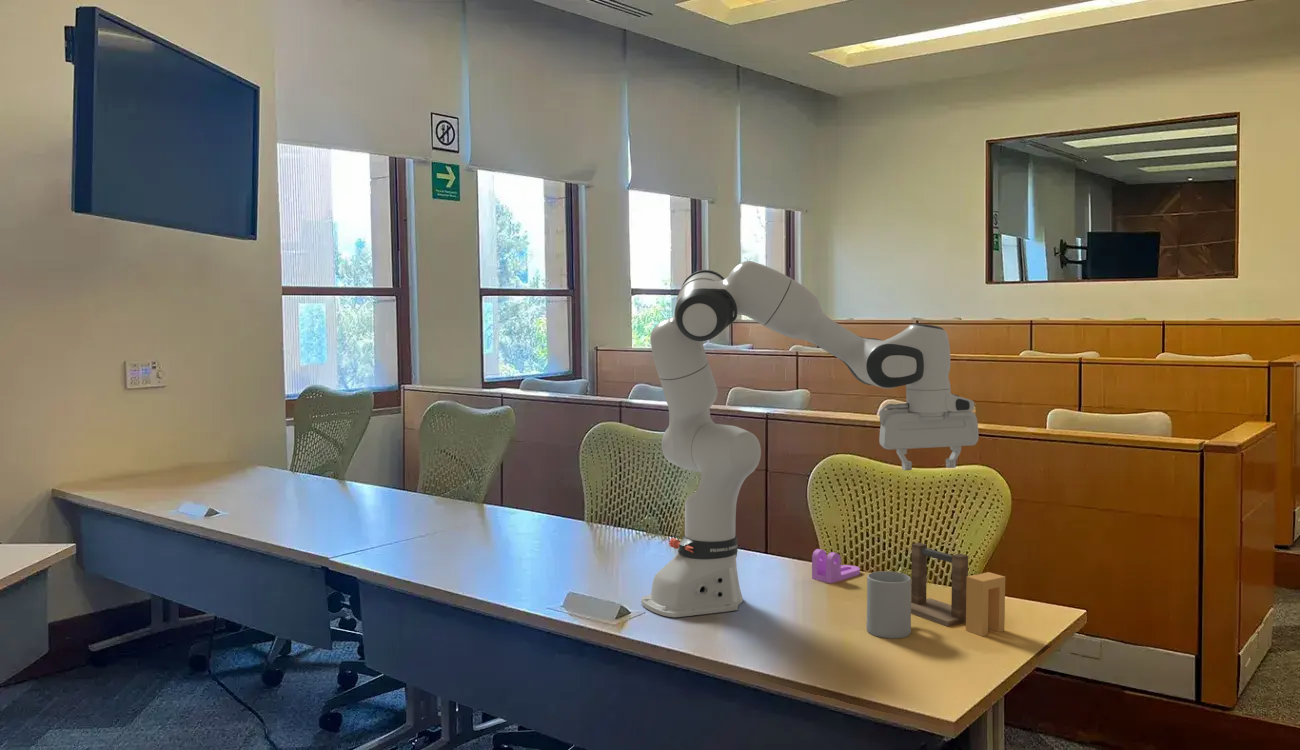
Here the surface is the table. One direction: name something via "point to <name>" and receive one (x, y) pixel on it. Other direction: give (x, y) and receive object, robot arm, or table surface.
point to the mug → (888, 604)
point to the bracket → (831, 567)
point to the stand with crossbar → (919, 603)
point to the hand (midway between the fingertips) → (928, 468)
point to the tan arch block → (985, 603)
